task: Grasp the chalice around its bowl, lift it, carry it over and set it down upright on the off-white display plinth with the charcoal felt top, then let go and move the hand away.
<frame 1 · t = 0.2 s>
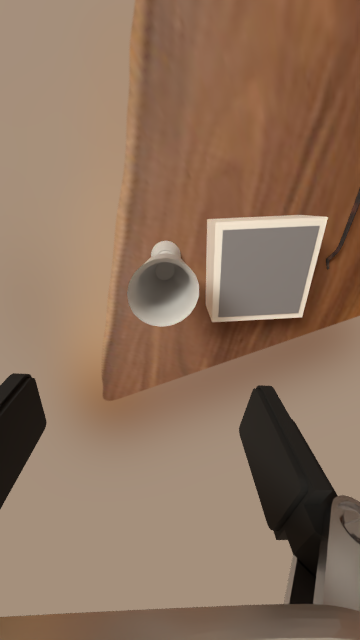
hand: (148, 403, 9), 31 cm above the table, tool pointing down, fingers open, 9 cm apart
display plinth: (248, 263, 38), on the table
chalice: (165, 256, 37), on the table
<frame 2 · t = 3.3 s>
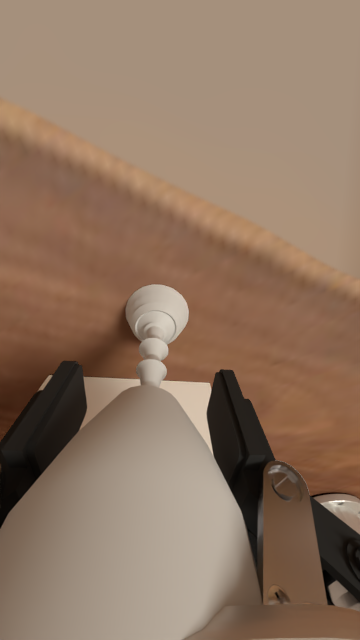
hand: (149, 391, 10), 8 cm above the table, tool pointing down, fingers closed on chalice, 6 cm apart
display plinth: (131, 430, 24), on the table
chalice: (157, 313, 17), on the table, touching gripper
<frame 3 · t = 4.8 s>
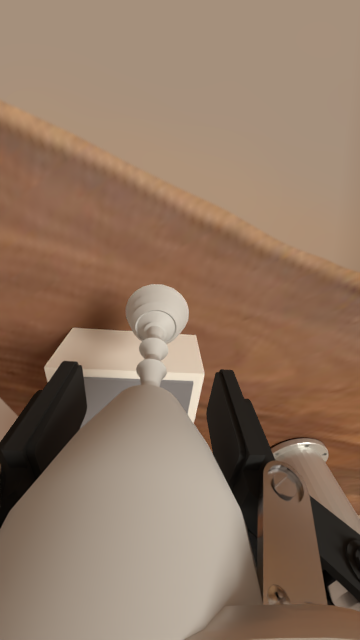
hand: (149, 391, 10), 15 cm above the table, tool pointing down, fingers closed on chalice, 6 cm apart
display plinth: (135, 376, 30), on the table
chalice: (157, 313, 17), point 7 cm above the table, touching gripper
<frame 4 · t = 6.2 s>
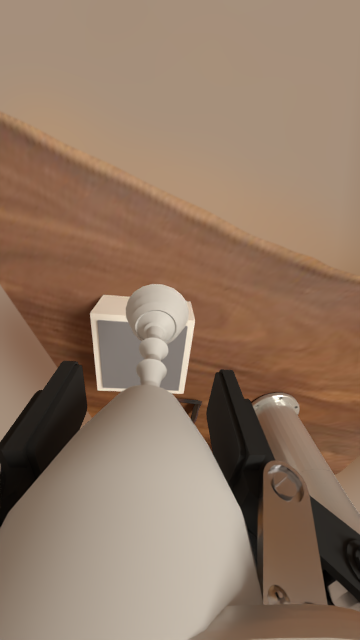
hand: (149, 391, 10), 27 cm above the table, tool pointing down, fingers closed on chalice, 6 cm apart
display plinth: (146, 335, 41), on the table
chalice: (157, 313, 17), point 19 cm above the table, touching gripper
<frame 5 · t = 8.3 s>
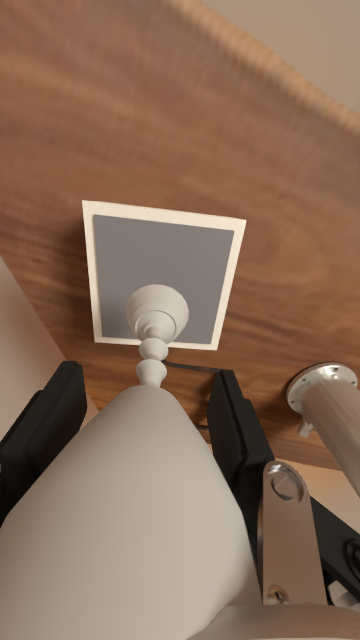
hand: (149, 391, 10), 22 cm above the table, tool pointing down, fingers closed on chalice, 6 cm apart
display plinth: (163, 271, 29), on the table
chalice: (157, 313, 17), point 13 cm above the table, touching gripper
when the fingers open (17 cm above the table, at t = 9.6 s): chalice drops 1 cm, resting on display plinth.
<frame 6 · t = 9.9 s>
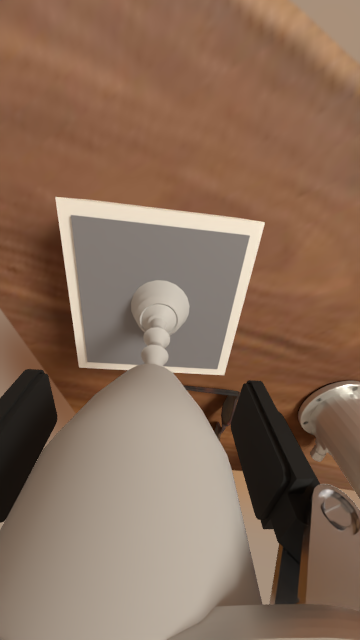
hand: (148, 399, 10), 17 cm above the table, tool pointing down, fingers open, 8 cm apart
display plinth: (160, 281, 25), on the table
chalice: (160, 307, 19), point 7 cm above the table, touching display plinth
eyeglasses: (180, 406, 36), on the table
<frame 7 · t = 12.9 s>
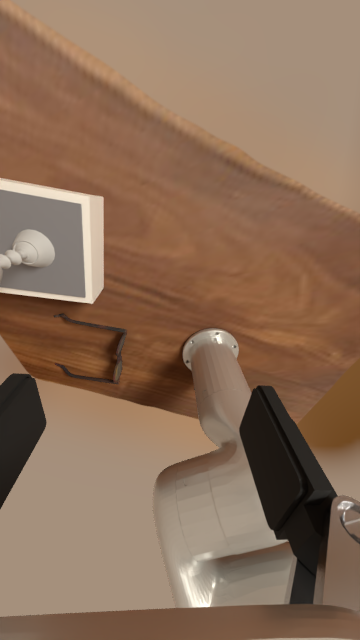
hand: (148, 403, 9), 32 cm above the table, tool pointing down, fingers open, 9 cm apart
display plinth: (57, 239, 36), on the table
chalice: (36, 249, 30), point 7 cm above the table, touching display plinth
eyeglasses: (91, 345, 47), on the table
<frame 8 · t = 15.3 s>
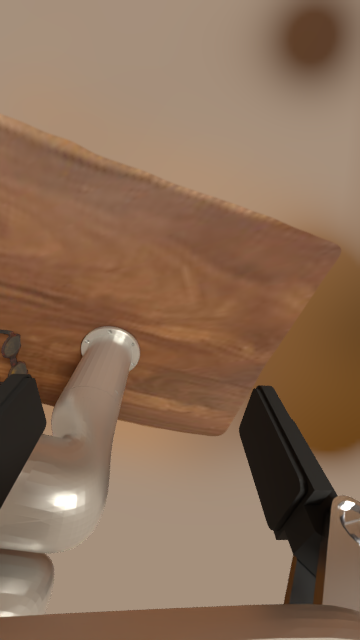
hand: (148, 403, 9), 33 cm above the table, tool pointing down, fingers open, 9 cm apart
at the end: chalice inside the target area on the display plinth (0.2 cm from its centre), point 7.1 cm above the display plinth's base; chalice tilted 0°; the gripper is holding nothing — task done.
